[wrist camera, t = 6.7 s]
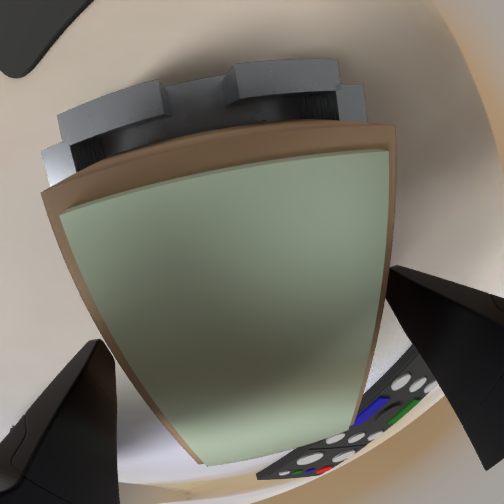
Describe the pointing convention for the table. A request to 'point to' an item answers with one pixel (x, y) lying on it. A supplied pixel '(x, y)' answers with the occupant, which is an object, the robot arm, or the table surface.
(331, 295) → the brown and green block
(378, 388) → the remote control
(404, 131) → the table surface
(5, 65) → the phone
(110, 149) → the chassis
